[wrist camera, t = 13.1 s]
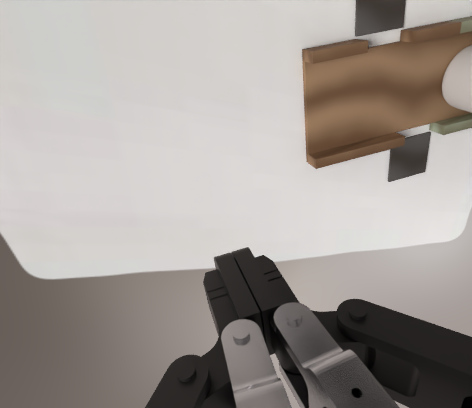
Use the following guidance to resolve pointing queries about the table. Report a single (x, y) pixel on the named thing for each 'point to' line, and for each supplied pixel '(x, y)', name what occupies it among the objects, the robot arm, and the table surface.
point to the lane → (381, 90)
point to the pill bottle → (459, 81)
